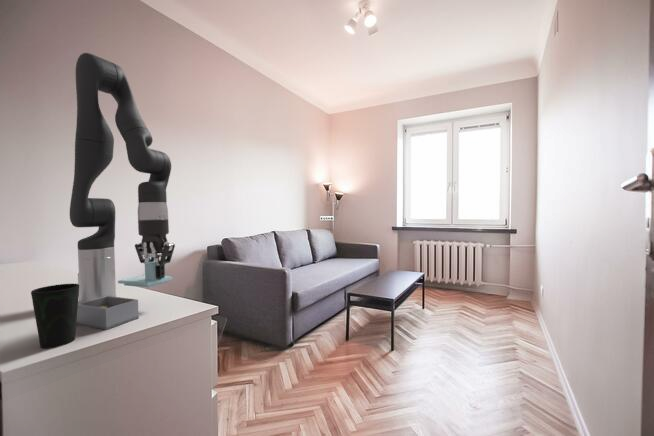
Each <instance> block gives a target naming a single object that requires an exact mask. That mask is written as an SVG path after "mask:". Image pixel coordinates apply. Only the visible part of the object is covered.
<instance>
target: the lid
mask: <svg viewBox="0 0 654 436" xmlns="http://www.w3.org/2000/svg"><path fill="white" fill-rule="evenodd" d="M155 266H156V264H155V261H153V262H147V263H145V264H144V274H142V275H138V276H132V277H128V278H124V279H119V280H117V284H123V286H124V287H125V286H128V287H138V288H139V287H140V288H151V287H155V286H159V285H160V286H161V285H163V284H166V283H168V281H171V280H173V276H171V275H168V276H167V275H166V274H165V275H164V278H161V279H156V268H155ZM164 267H165V268H166V265H165V266H164Z"/></svg>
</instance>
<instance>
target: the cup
mask: <svg viewBox="0 0 654 436" xmlns="http://www.w3.org/2000/svg"><path fill="white" fill-rule="evenodd" d="M30 295H31V300H32V306H33V311H34V312H33V313H34V319H35V324H36V330H37V337H38V341H39V347H40V348H41V349H53V348H54V349H55V348H59V347H62V346H64V345H65V346H66V345H68V344H70V343H72V342H74V341H75V340H76V334H77V332H76V331H77V324H76V322H77V310H78V304H79V284H78V283H61V284H53V285H47V286H43V287H39V288H35V289H32V290H31V291H30Z"/></svg>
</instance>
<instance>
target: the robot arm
mask: <svg viewBox="0 0 654 436" xmlns="http://www.w3.org/2000/svg"><path fill="white" fill-rule="evenodd" d="M75 89H76V126H75V127H76V128H75V138H74V140H75V141H74V168H73V169H74V172H73V174H74V175H73V182H72V189H71V197H70V205H69V220H70V223H71V225H72V226H73V227H75V228H98V230H97V231H96V232H95V233H93V234H92V235H90V236H87V237H84V238H81V239H79V240H78V241H77V263H78V273H77V284H79V297H78V303H83V302H87V301H90V300H94V299H98V298H102V297H106V296H112V297H117V290H116V289H117V287H116V286H117V285H116V282H117V281H116V258H115V257H116V255H115V239H116V206H115V203H114V202H113V200H112V199H110V198H105V197H104V198H100V197H97V198H96V197H89V194H90V191H91V188H92V186H93V185H94V183H95V181H96V180H97V178H98V177H99V176H100V175H101V174H102V173H104V171H105V170H106V169H107V168H108V166H109V165H110V164H111V162H112V161H113V158H114V147H115V146H114V144H115V138H114V134H113V132H112V130H111V127H110V126H109V124H108V123H107V120H106V119H105V117H104V115H103V113H102V111H101V107H100V104H99V103H100V102H99V92H103V93H106V94H110V95H111V96H112V97H113V98H114V100H115V101H116V103H117V104H116V105H117V108H116V111H115V116H114V119H115V120H114V121H115V125H116V127H117V130H118V132H119V133H120V135H121V137H122V139H123V141H124V142H125V148H126V154H127V161H128V163H129V164H130V166H131V167H132V168H133V169H134V170H135V171H136V172H139V173H142V174H149V177H148V181H143V182H140V183H139V184H138V187H137V197H138V198H137V199H138V200H137V201H138V202H137V203H138V206H137V224H138V226H137V228H138V235H139V236H142V238H141V242H139V243H135V244H134V249H135V251H136V253H137V256H138V259H139V262H140V264H144V265H145V263H147V262H153V261H155V264H156V266H155V268H156V279H161V278H164V275H165V276H166V264H169V263H171V260H172V257H173V254H174V250H175V247H176V244H175V243H170V242H168V239H167V235H168V234H169V233H170V231H169V230H170V226H169V210H168V204H167V199H168V198H167V186H168V184H169V180H170V179H169V178H170V176H171V172H172V161H171V159H170V158H171V157H170V156H169V155H168V154H167V153H165V152H163V151H160V150H157V149H153V148H149V147H151V145H152V143H153V142H154V141H153V137H152V134H151V132H150V130H149V129H148V127H147V125H146V124H145V121H144V120H143V118H142V116H141V114H140V112H139V110H138V106H137V104H136V101H135V98H134V95H133V92H132V89H131V86H130V82H129V80H128V77H127V75H126V73H125V71H124V69H123V68H122V67H121V66H119V65H118V64H116V63H115V62H112V61H109V60H106V59H104V58H102V57H100V56H98V55H95V54H93V53H89V52H83V53H82V54H80V55H79V56H78V57H77V59H76V64H75ZM164 266H165V267H164Z"/></svg>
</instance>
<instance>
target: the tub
mask: <svg viewBox="0 0 654 436" xmlns="http://www.w3.org/2000/svg"><path fill="white" fill-rule="evenodd" d="M139 315H140V314H139V299H135V298H128V297H127V298H126V297H119V296H116V297H112V296H106V297H102V298H98V299H94V300H90V301H87V302H83V303H80V302H78V310H77V322H76V326H77V325H79V326H83V327H89V328H94V329H99V330H105V331H108V330H110V329H113V328H117V327H119V326H121V325H124V324H128V323H129V322H133V321H135V320H137V319H139Z"/></svg>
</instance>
